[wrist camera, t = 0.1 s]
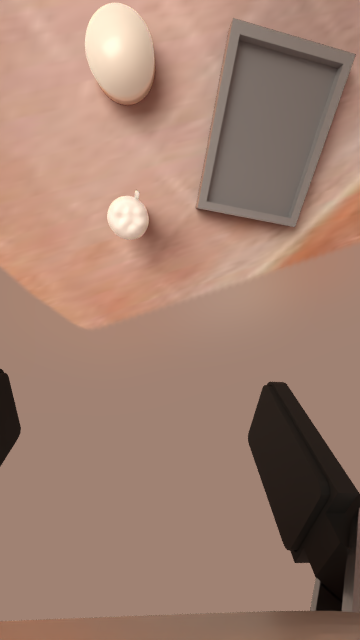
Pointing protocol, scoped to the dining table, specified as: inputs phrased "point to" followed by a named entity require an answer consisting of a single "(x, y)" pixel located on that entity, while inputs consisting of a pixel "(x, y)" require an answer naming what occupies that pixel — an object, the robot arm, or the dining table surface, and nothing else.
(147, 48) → the cream domed disc
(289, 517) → the robot arm
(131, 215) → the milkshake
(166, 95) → the dining table surface
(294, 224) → the grey tray
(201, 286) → the dining table surface
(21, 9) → the dining table surface
